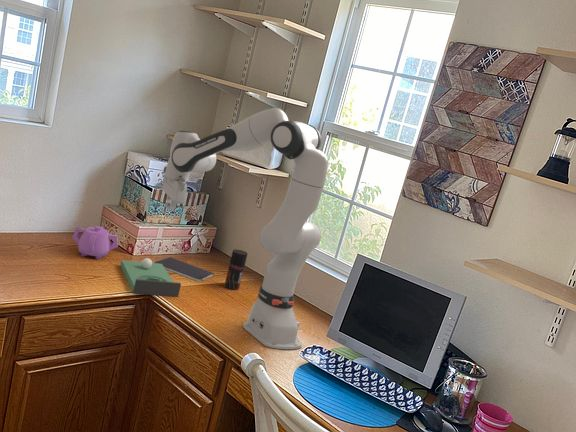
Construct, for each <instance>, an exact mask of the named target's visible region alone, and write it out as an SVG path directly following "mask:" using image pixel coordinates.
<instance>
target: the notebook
mask: <svg viewBox="0 0 576 432" xmlns="http://www.w3.org/2000/svg"><path fill="white" fill-rule="evenodd" d="M154 263H158V264H162V265H163V266H164V268H165V269H166V271H169V272H172V273H174V274H178V275H179V276H182V277H185V278H188V279H190V280H193V281H196V282H200V281H203V280H205V279H208V278H210V277H212V276H214V274H215V273H214V272H212V271H209V270H207V269H203V268H201V267H198V266H195V265H192V264H190V263H188V262H184V261H182V260H179V259H176V258H173V257H171V256H170V257H167V258H163V259H161V260H160V259H159V260H157V261H154Z"/></svg>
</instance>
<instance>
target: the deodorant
mask: <svg viewBox="0 0 576 432" xmlns="http://www.w3.org/2000/svg"><path fill="white" fill-rule="evenodd" d="M247 257H248V252H247V251H245V250H242V249H232V252H231V257H230V261H229V265H228V269H227V274H226V278H225V282H224V285H223V286H224V288H225V289H227V288H228V290H230V289H231V291H239V290H240V286H241V282H242V279H243V278H242V277H243V274H244V270H245V266H246V262H247V259H248V258H247ZM238 289H239V290H238Z"/></svg>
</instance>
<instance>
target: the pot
mask: <svg viewBox="0 0 576 432" xmlns="http://www.w3.org/2000/svg"><path fill="white" fill-rule="evenodd" d="M80 232H81V233H82V234H81V236H79V234H80ZM71 239H72V240H74V241H75V243H76V244H77V249H78V251H79V253H81V254H80V256H81V257H85V256H86V257H87V256H92V257H95V259H96V260H98V259H101V260H102V257H105V256H107V254H108V253H109V252H110V251H111V250H113V249H116V248H118V246H119V238H118V235H117V234H112V233H110V231H109V229H105V227H104V226H99V225H95V226H88V227H86V228H83V227H80V226H76V227H75V230H74V232H73V234H72V238H71ZM111 239H113V241H112V243H111Z"/></svg>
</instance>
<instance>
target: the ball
mask: <svg viewBox="0 0 576 432" xmlns="http://www.w3.org/2000/svg"><path fill="white" fill-rule="evenodd" d="M140 262H141V265H142V267H143V268H145V269H148V268H150V267H151V266H152V263H153V260H152V259H151V258H148V257H146V258H144V259H141V261H140Z"/></svg>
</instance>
